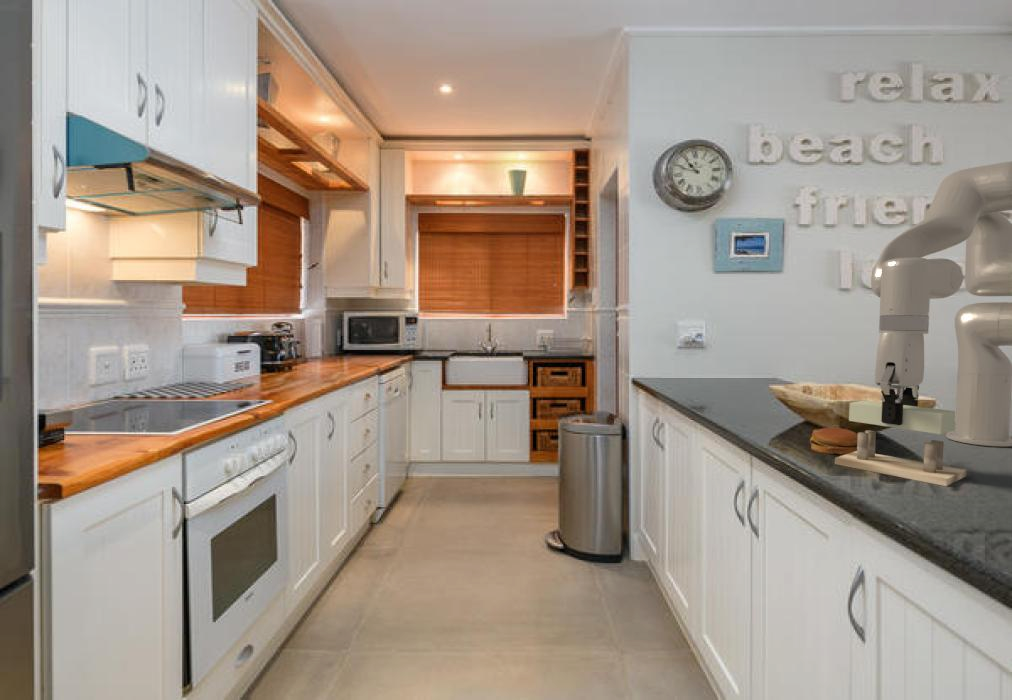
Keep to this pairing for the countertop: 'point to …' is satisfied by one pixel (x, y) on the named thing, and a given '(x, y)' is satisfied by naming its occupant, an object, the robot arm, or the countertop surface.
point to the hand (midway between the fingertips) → (899, 421)
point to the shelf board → (905, 417)
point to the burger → (834, 441)
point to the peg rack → (902, 462)
